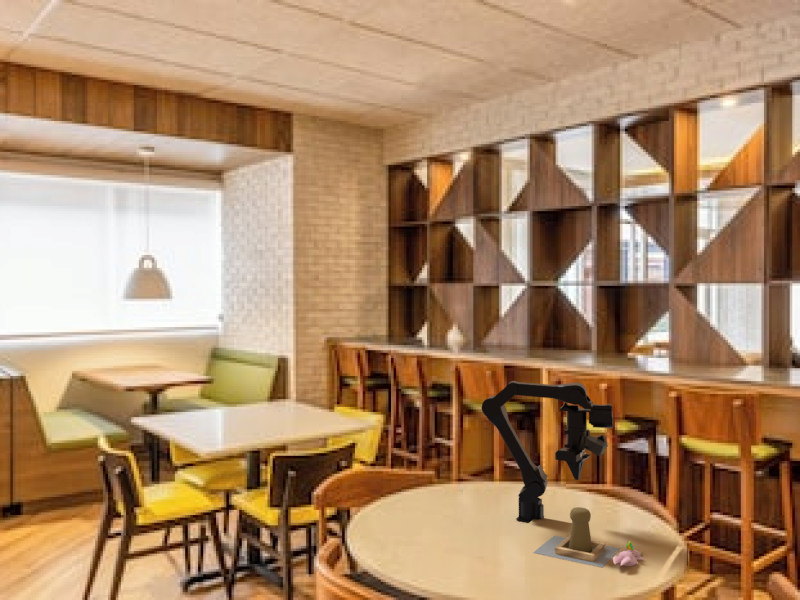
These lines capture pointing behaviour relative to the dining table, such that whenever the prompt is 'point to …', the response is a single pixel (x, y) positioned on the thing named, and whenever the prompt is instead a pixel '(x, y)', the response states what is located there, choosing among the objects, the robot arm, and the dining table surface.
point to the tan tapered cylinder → (580, 530)
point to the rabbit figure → (628, 556)
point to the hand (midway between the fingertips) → (577, 479)
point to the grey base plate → (549, 550)
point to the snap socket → (592, 556)
